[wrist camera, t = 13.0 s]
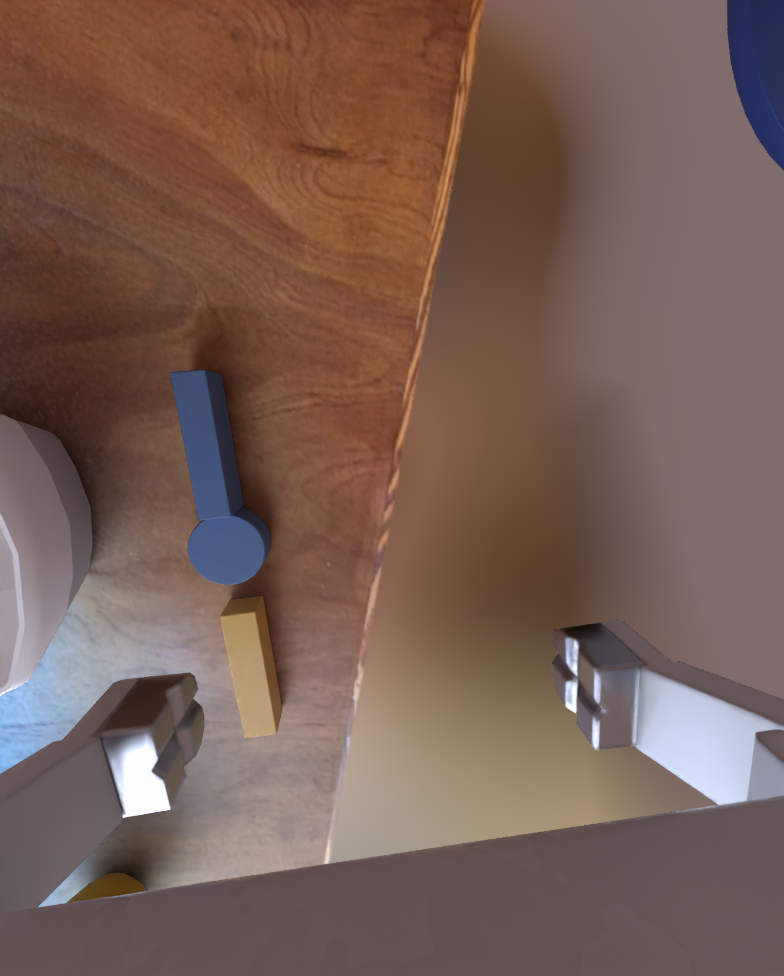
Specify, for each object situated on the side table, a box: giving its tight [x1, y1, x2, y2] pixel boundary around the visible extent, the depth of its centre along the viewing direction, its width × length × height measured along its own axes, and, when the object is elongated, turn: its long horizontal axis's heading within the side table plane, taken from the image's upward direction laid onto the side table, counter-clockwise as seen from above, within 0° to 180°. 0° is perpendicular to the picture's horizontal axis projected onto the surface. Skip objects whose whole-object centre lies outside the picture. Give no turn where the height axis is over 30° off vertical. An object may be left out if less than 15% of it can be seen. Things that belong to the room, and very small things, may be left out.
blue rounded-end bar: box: [170, 370, 271, 585], centre depth 26 cm, size 14×5×3 cm, turn 5°
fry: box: [220, 596, 282, 738], centre depth 29 cm, size 10×2×2 cm, turn 5°
